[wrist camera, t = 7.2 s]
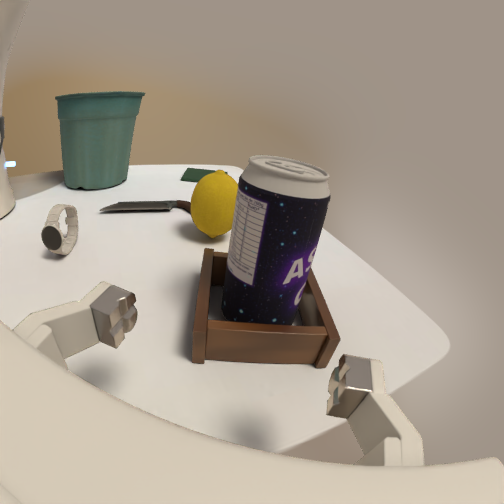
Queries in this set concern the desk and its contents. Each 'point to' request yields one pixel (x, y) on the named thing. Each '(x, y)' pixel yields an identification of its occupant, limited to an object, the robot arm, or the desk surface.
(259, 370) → the desk surface
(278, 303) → the beverage can
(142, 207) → the knife
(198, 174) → the mat
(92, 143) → the flower pot
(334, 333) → the crate
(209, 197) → the lemon
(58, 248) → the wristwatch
